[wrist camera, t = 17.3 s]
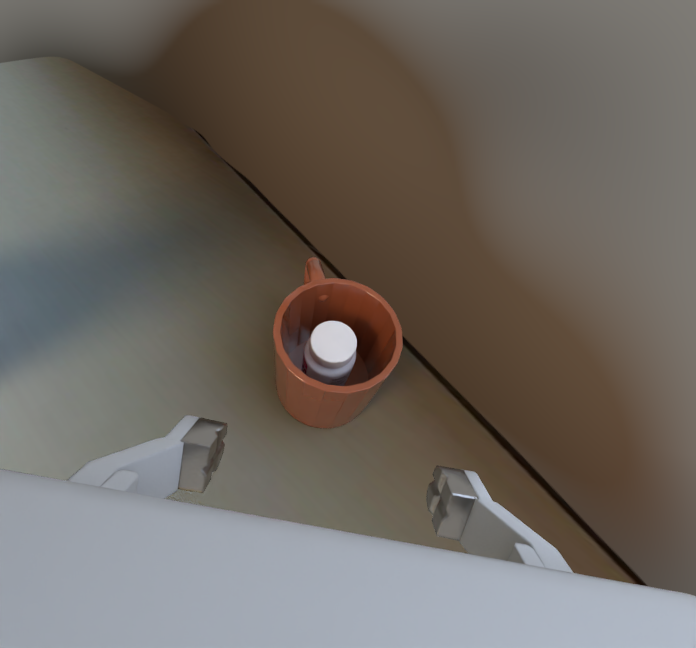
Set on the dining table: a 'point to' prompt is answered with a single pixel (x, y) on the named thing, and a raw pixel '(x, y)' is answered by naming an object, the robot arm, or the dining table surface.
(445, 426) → the dining table surface
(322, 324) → the pill bottle
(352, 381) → the reddish brown mug
